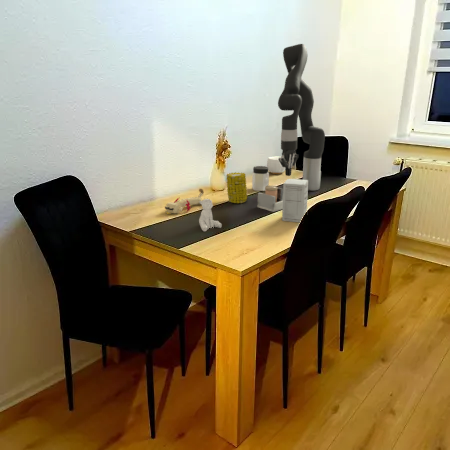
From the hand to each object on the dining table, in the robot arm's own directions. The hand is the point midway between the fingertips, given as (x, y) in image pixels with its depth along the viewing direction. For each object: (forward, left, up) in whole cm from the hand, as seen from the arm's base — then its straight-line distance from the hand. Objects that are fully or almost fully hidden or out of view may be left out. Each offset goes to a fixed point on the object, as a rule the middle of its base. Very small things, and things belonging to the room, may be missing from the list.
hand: (288, 175), depth 216 cm
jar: (-11, -28, -14) cm, 33 cm away
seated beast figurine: (+51, -1, -14) cm, 53 cm away
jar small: (+11, -1, -13) cm, 17 cm away
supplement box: (+16, +17, -14) cm, 27 cm away
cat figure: (+41, -27, -15) cm, 51 cm away
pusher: (+7, -1, -13) cm, 15 cm away
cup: (-48, -48, -14) cm, 69 cm away
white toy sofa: (+6, -1, -14) cm, 15 cm away
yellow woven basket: (+15, -20, -14) cm, 29 cm away
